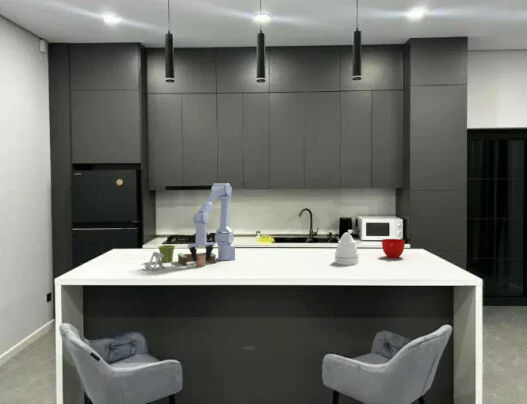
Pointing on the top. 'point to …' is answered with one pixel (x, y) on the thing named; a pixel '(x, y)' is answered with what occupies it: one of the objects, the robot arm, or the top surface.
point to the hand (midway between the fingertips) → (201, 260)
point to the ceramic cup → (393, 247)
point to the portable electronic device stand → (158, 256)
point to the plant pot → (167, 252)
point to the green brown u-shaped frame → (188, 257)
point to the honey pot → (346, 250)
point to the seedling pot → (200, 260)
